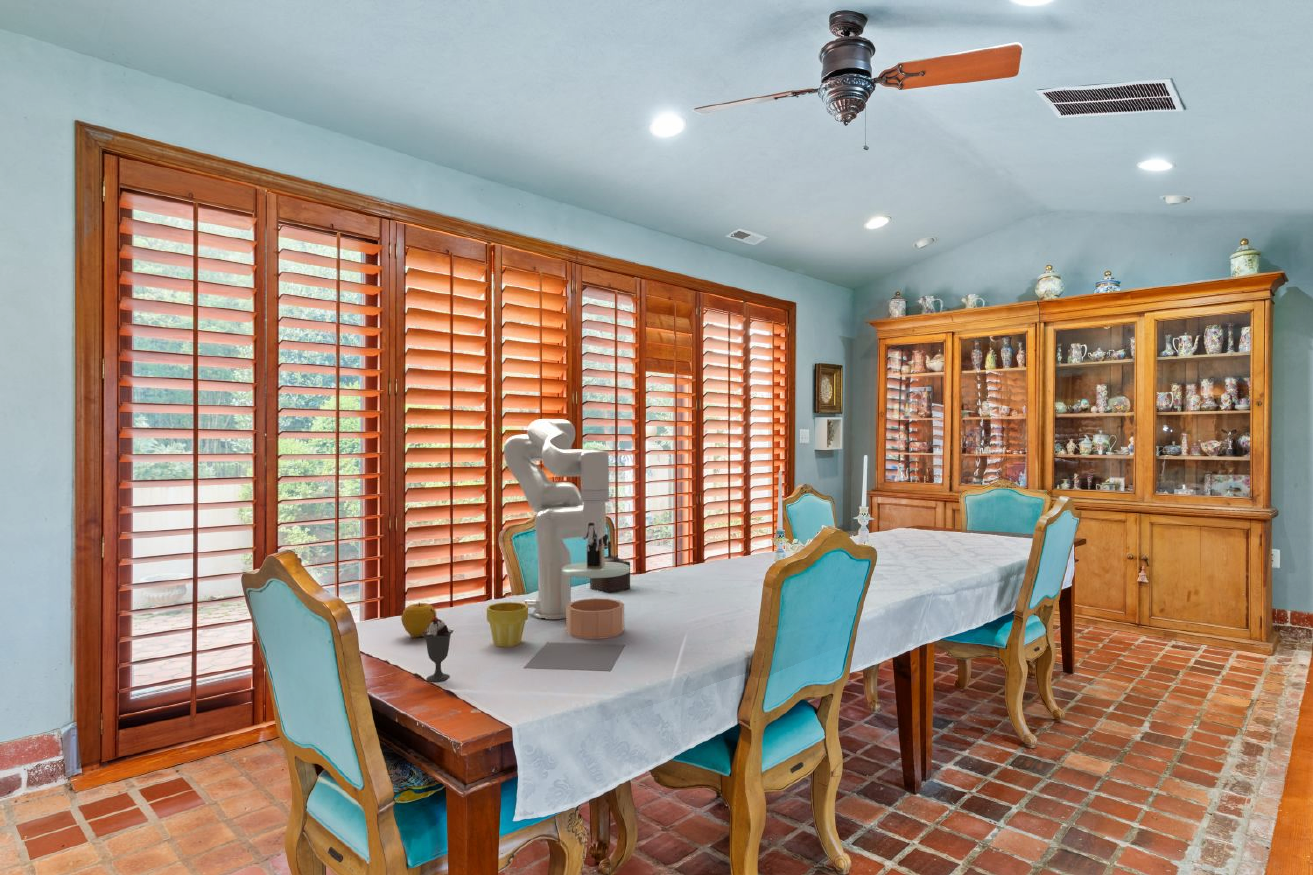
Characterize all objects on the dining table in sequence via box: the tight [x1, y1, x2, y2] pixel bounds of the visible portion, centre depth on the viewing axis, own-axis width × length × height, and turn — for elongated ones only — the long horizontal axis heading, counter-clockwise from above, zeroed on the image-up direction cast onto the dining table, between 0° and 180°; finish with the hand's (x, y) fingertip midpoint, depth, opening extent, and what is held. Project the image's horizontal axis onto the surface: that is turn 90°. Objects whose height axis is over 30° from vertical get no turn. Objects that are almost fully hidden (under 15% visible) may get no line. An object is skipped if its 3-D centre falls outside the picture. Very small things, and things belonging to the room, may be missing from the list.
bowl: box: [565, 597, 625, 640], centre depth 192 cm, size 15×15×8 cm
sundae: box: [422, 609, 454, 683], centre depth 156 cm, size 7×7×15 cm
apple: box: [400, 602, 437, 638], centre depth 189 cm, size 9×9×9 cm
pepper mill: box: [589, 533, 631, 594], centre depth 249 cm, size 16×11×18 cm
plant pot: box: [486, 601, 529, 648], centre depth 181 cm, size 10×10×10 cm
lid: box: [562, 544, 629, 579], centre depth 192 cm, size 18×18×7 cm
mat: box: [523, 641, 626, 672], centre depth 170 cm, size 20×20×1 cm
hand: (595, 563), depth 192 cm, fingers closed on lid, 4 cm apart
